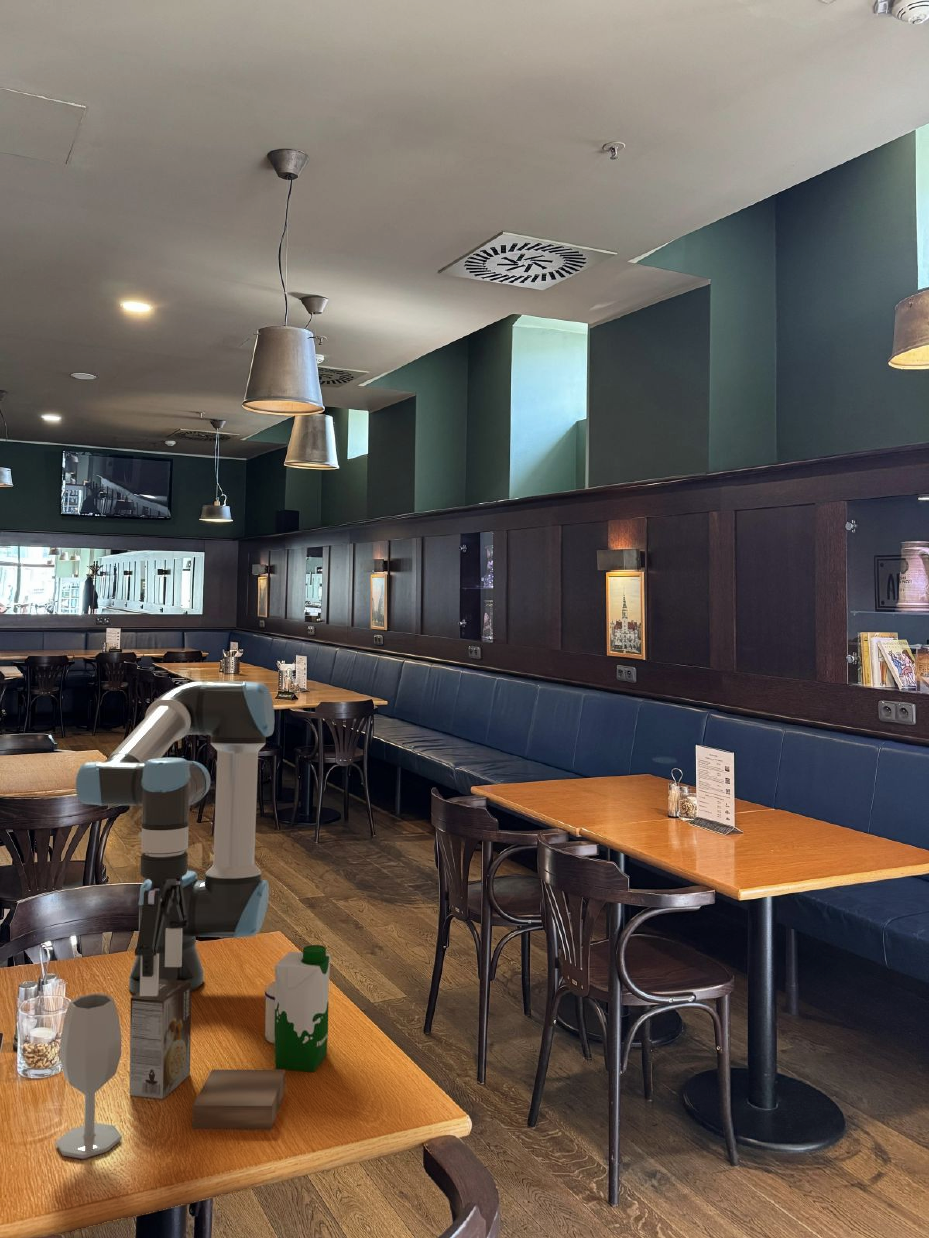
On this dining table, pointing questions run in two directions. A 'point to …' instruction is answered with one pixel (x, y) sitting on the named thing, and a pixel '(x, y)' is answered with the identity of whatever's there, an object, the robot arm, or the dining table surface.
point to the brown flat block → (239, 1100)
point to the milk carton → (302, 1009)
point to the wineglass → (90, 1068)
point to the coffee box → (160, 1039)
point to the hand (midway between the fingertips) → (161, 980)
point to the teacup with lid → (270, 1012)
